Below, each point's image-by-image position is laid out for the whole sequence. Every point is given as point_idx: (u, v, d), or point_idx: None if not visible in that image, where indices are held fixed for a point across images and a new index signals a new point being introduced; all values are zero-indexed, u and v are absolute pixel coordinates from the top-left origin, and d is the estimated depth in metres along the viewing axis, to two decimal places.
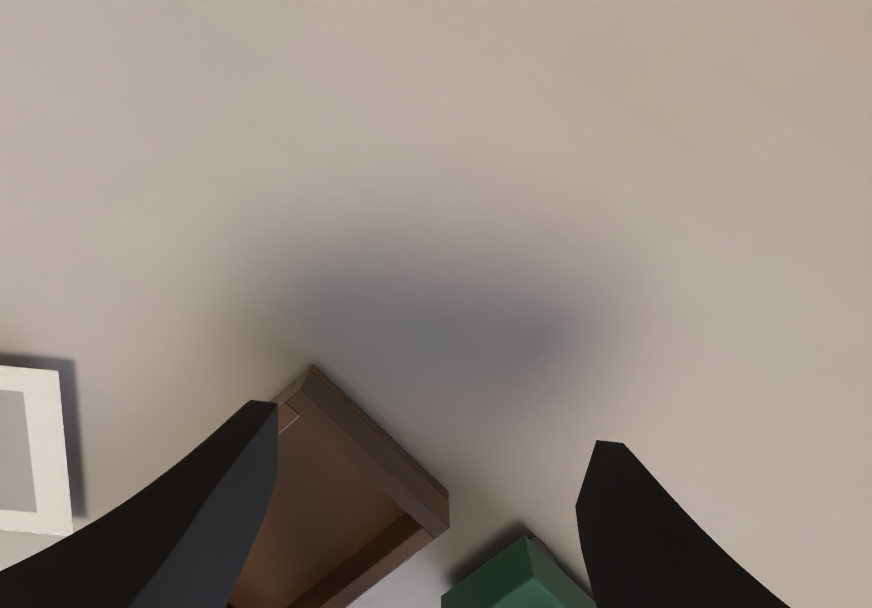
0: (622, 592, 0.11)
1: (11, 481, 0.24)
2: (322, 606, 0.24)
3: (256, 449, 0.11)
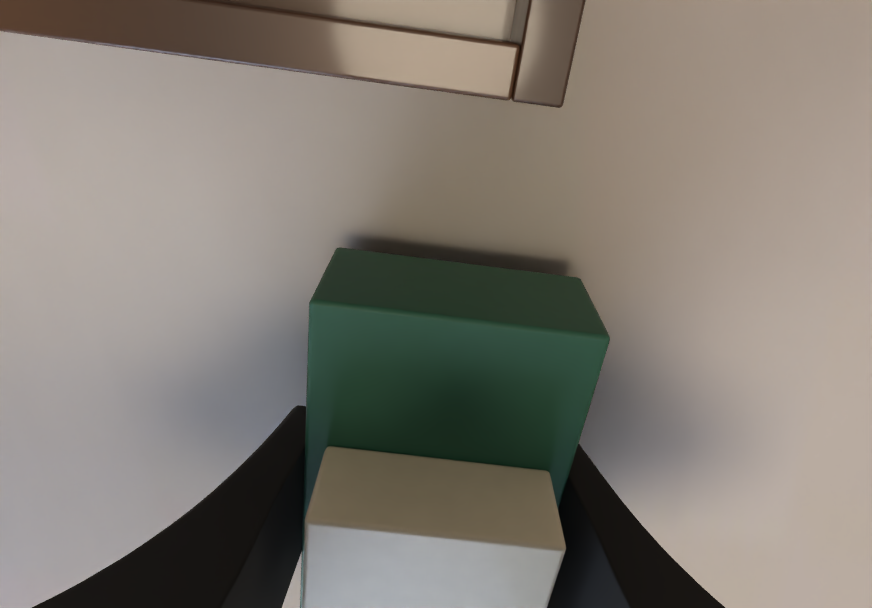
0: (564, 586, 0.11)
1: None
2: None
3: None
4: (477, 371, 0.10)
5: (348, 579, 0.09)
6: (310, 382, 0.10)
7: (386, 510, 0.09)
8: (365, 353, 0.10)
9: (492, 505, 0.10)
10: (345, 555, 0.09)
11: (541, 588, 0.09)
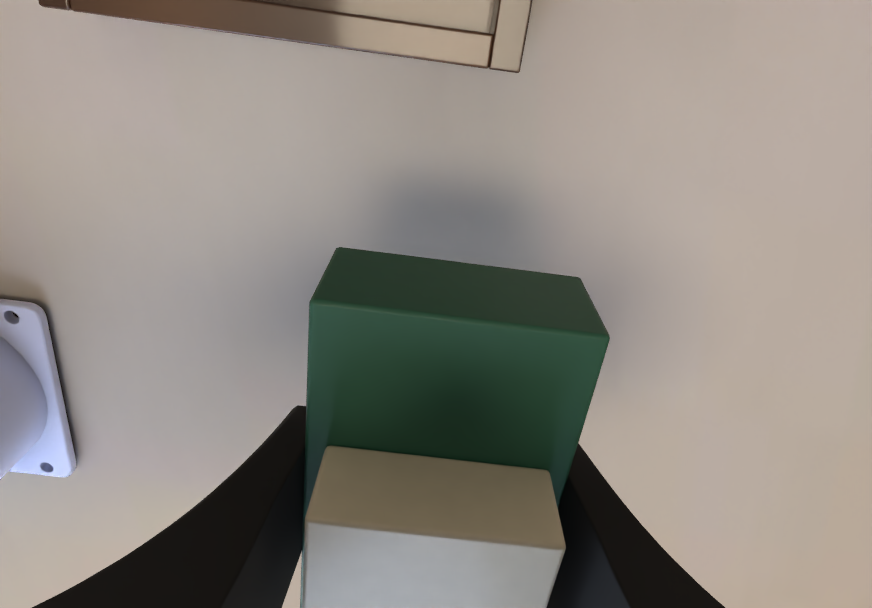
0: (564, 586, 0.11)
1: None
2: (257, 3, 0.14)
3: None
4: (477, 370, 0.10)
5: (348, 577, 0.09)
6: (310, 381, 0.10)
7: (386, 509, 0.09)
8: (365, 353, 0.10)
9: (492, 504, 0.10)
10: (345, 555, 0.09)
11: (541, 587, 0.09)
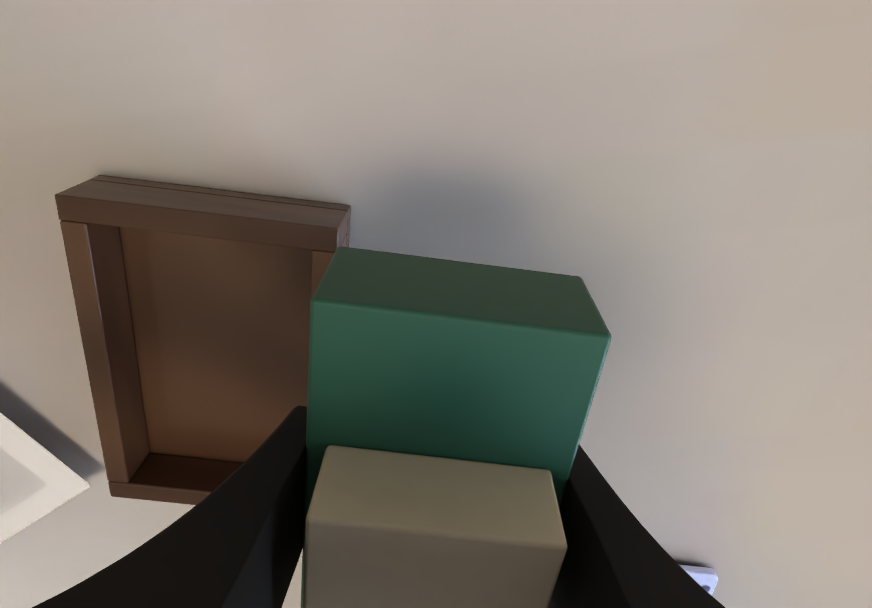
0: (564, 586, 0.11)
1: (6, 472, 0.23)
2: None
3: None
4: (478, 370, 0.10)
5: (349, 578, 0.09)
6: (311, 381, 0.10)
7: (387, 509, 0.09)
8: (366, 352, 0.10)
9: (493, 504, 0.10)
10: (346, 554, 0.09)
11: (542, 587, 0.09)
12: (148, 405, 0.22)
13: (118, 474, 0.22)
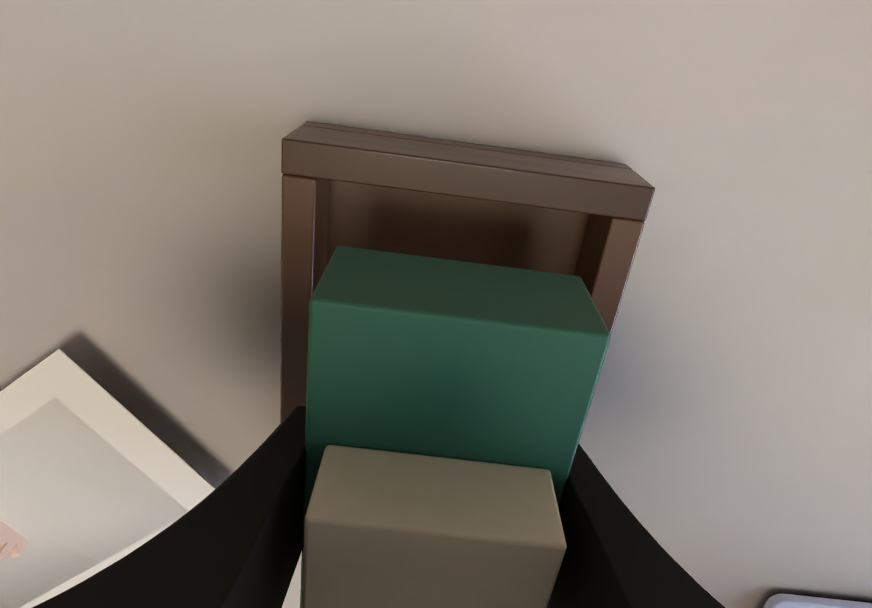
0: (564, 586, 0.11)
1: (139, 497, 0.19)
2: None
3: None
4: (477, 369, 0.10)
5: (348, 577, 0.09)
6: (310, 380, 0.10)
7: (386, 508, 0.09)
8: (365, 352, 0.10)
9: (492, 503, 0.10)
10: (344, 554, 0.09)
11: (541, 587, 0.09)
12: None
13: None
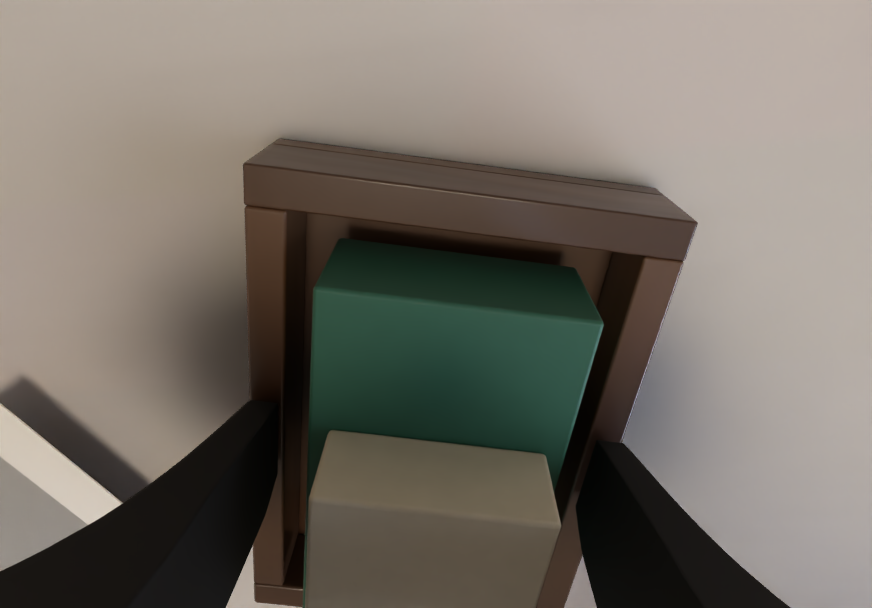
0: (622, 592, 0.11)
1: None
2: (574, 486, 0.13)
3: (256, 449, 0.11)
4: (475, 356, 0.10)
5: (350, 556, 0.10)
6: (313, 367, 0.10)
7: (387, 490, 0.10)
8: (367, 339, 0.10)
9: (490, 485, 0.10)
10: (347, 533, 0.10)
11: (537, 565, 0.10)
12: None
13: (271, 574, 0.15)
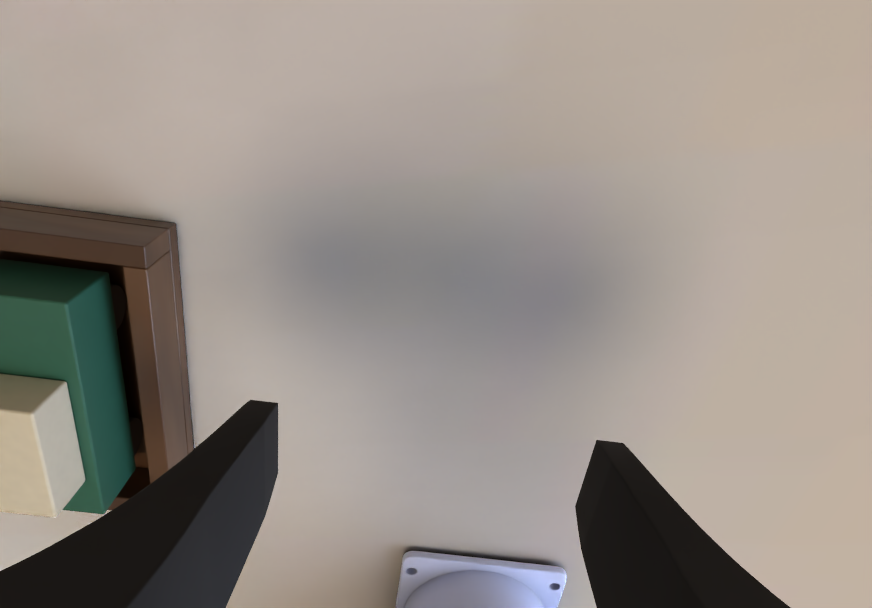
0: (622, 592, 0.11)
1: None
2: (141, 410, 0.21)
3: (256, 449, 0.11)
4: (2, 322, 0.18)
5: None
6: None
7: None
8: None
9: (8, 395, 0.18)
10: None
11: (29, 438, 0.17)
12: None
13: None
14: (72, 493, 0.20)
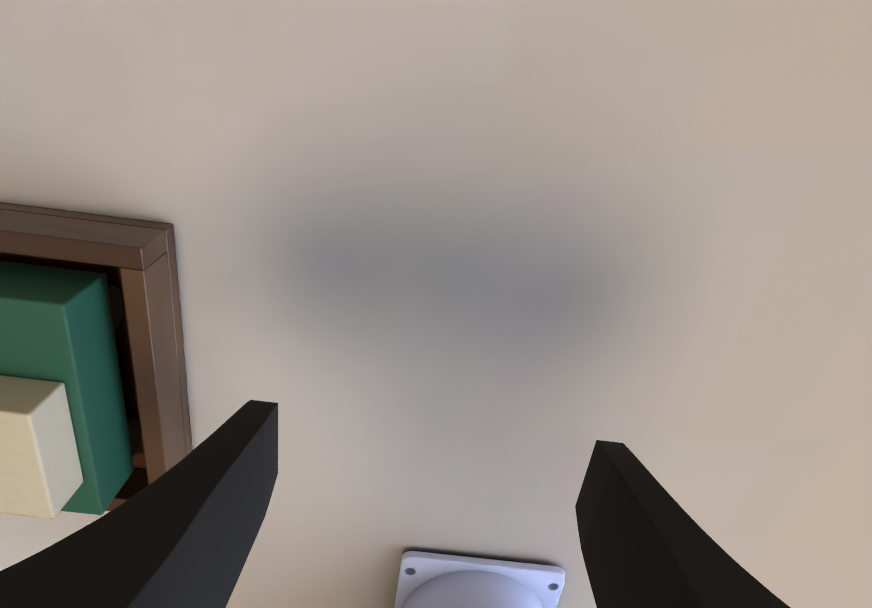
0: (622, 592, 0.11)
1: None
2: (139, 411, 0.21)
3: (256, 449, 0.11)
4: (0, 324, 0.18)
5: None
6: None
7: None
8: None
9: (6, 396, 0.18)
10: None
11: (26, 439, 0.18)
12: None
13: None
14: (70, 494, 0.20)
